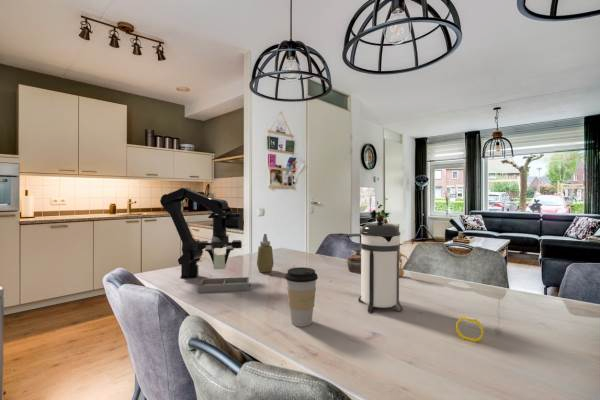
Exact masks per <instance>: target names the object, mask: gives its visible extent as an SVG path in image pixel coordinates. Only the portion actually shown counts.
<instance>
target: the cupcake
mask: <svg viewBox="0 0 600 400" xmlns="http://www.w3.org/2000/svg"><path fill="white" fill-rule="evenodd" d="M346 261H347V262H346V263H347V268H348V271H349V272H350V273H354V274H361V249H356V250H355V249H353V250H351V253H350V254H349V256H348V258H347V260H346Z"/></svg>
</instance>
